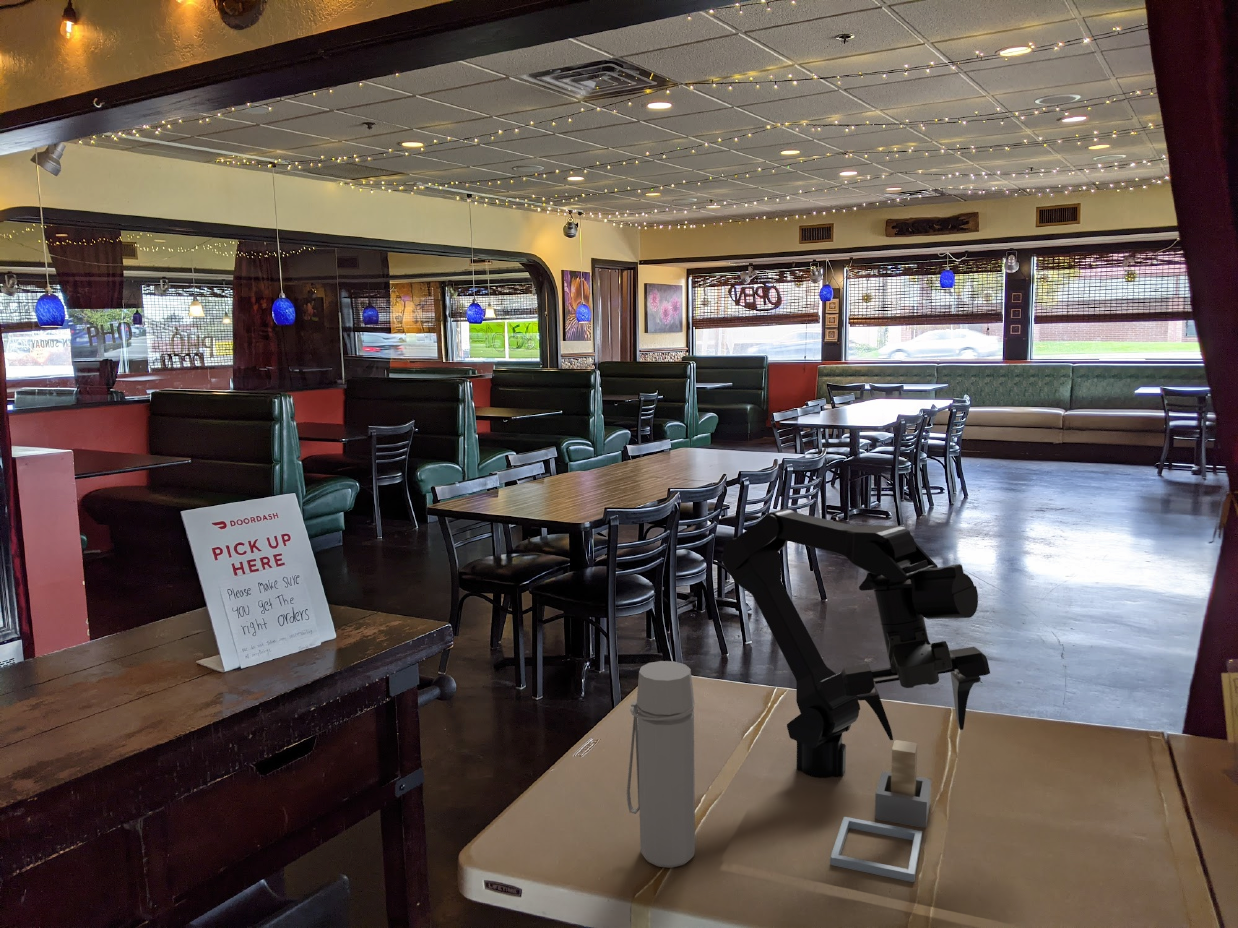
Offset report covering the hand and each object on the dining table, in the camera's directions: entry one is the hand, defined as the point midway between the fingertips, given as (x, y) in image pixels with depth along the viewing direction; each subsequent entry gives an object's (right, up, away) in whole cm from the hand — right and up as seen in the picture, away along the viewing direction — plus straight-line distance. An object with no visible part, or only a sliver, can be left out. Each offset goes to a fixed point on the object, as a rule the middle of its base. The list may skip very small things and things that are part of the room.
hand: (926, 734), depth 124 cm
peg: (-2, -11, +3) cm, 12 cm away
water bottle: (-36, -14, -5) cm, 39 cm away
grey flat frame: (-8, -14, -7) cm, 17 cm away
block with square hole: (-2, -12, +3) cm, 13 cm away
